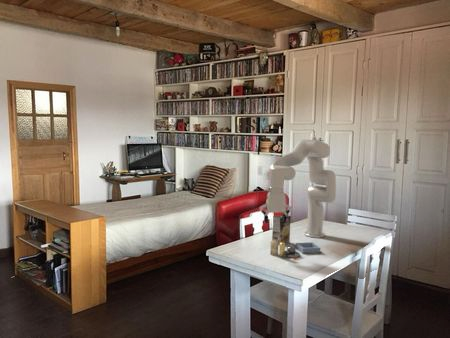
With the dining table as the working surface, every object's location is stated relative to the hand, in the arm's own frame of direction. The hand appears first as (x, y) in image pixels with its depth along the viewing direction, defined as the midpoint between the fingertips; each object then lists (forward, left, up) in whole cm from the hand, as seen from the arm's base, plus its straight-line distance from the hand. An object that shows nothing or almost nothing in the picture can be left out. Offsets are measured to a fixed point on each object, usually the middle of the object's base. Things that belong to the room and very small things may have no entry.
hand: (275, 222), depth 205 cm
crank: (+4, +6, -16) cm, 18 cm away
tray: (-4, +21, -17) cm, 27 cm away
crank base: (+4, +9, -17) cm, 20 cm away
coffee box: (-20, +11, -18) cm, 29 cm away
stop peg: (0, 0, -17) cm, 17 cm away
